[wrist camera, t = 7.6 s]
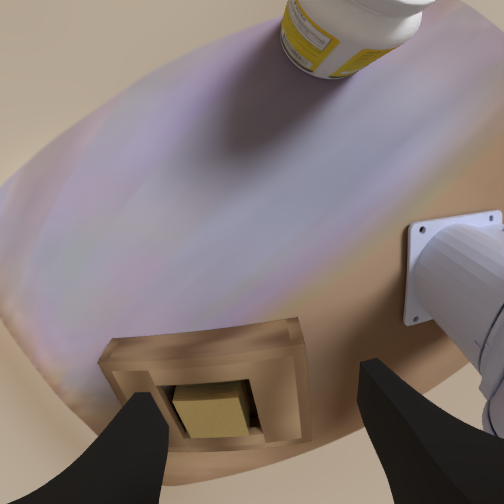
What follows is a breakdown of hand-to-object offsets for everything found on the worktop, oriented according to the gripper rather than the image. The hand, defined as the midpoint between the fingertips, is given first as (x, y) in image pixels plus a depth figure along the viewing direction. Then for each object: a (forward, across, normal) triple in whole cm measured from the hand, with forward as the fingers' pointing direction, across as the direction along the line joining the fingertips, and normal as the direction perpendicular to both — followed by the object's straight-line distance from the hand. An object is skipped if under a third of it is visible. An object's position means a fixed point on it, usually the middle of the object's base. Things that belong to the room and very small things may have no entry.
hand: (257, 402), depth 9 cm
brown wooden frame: (+10, +4, +9) cm, 15 cm away
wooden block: (+11, +4, +9) cm, 14 cm away
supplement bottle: (+10, -7, -14) cm, 19 cm away
